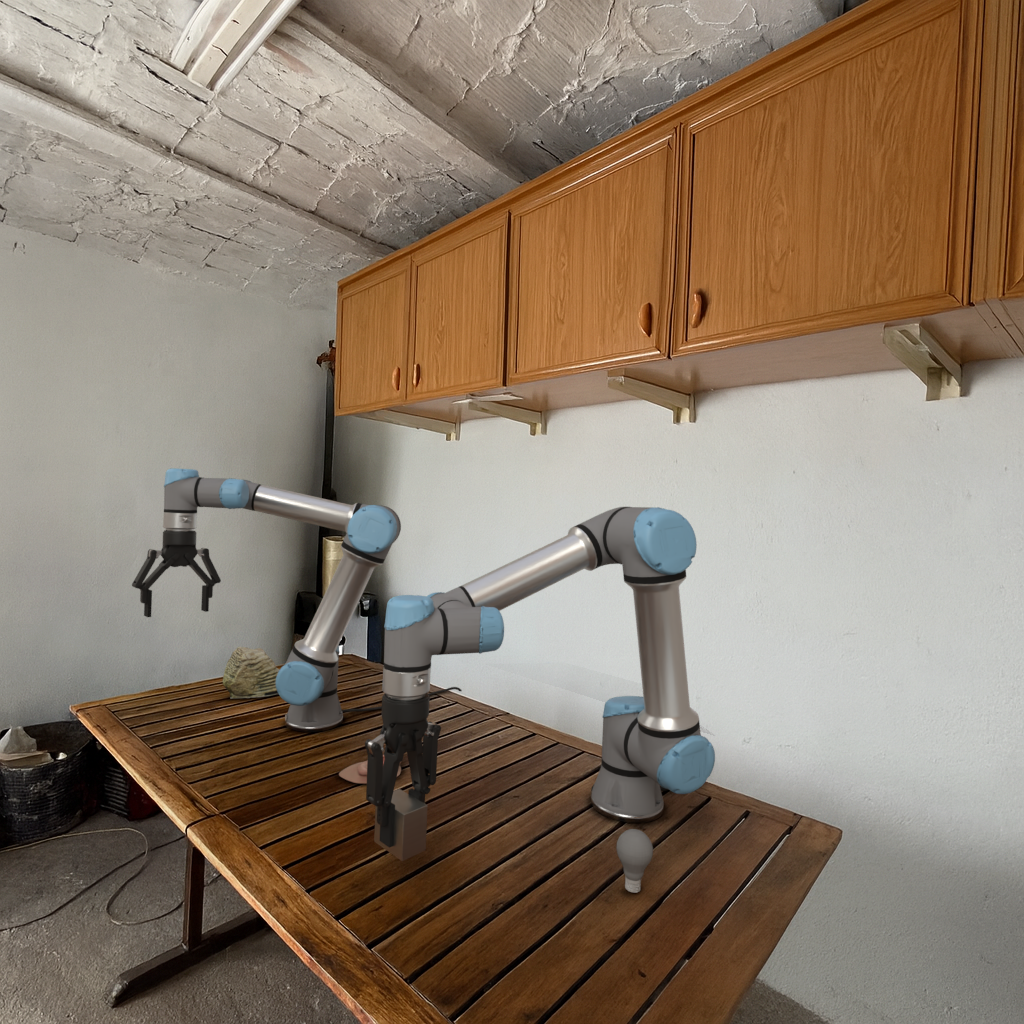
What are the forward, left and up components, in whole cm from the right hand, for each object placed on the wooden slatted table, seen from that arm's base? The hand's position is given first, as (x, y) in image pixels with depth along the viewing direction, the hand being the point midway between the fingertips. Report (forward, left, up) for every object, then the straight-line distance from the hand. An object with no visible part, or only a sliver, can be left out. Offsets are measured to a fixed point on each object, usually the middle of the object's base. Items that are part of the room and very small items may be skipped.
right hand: (400, 836), depth 102 cm
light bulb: (-38, +5, -10) cm, 40 cm away
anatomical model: (+4, -46, -10) cm, 47 cm away
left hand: (+53, -72, +22) cm, 93 cm away
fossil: (+40, -107, -10) cm, 115 cm away
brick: (0, 0, -2) cm, 2 cm away
